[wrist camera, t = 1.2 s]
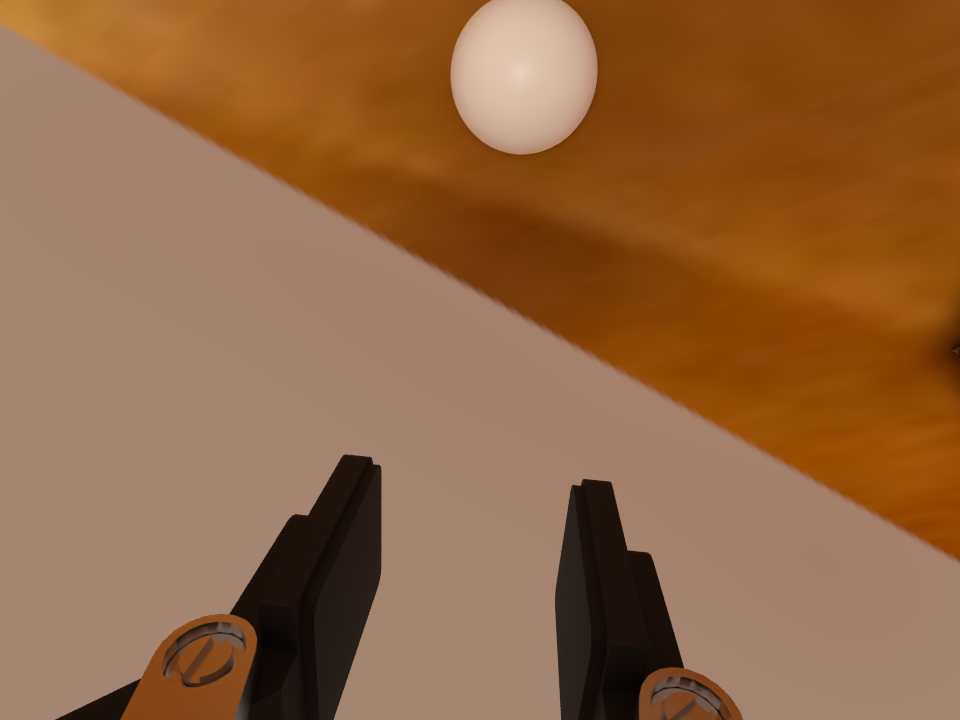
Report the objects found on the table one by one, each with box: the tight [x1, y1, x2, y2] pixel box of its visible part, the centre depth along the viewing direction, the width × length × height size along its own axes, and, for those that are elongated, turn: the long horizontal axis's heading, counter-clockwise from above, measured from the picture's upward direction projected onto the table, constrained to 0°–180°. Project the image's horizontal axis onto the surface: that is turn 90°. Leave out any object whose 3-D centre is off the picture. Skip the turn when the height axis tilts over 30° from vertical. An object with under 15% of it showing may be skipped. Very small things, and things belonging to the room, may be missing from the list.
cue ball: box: [450, 0, 598, 154], centre depth 21 cm, size 6×6×6 cm
